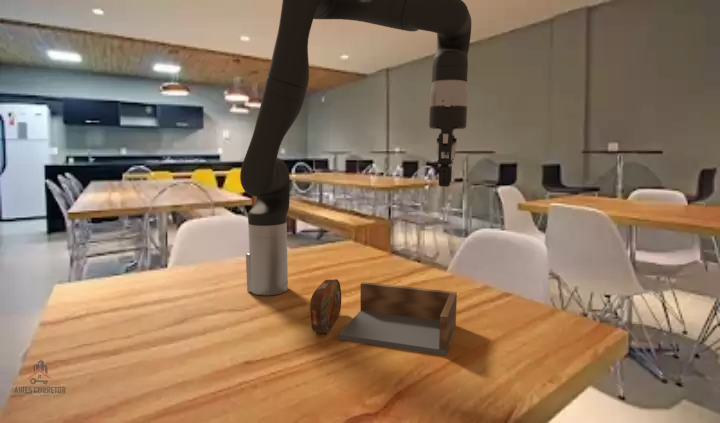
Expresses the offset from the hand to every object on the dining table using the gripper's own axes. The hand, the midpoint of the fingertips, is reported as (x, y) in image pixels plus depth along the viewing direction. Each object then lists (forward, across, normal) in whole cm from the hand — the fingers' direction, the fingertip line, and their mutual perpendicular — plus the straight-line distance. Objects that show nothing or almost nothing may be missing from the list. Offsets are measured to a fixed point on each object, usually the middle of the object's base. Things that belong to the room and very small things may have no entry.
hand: (445, 184), depth 93 cm
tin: (+28, +12, -22) cm, 38 cm away
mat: (+28, +13, -7) cm, 32 cm away
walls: (+28, +13, -7) cm, 32 cm away
